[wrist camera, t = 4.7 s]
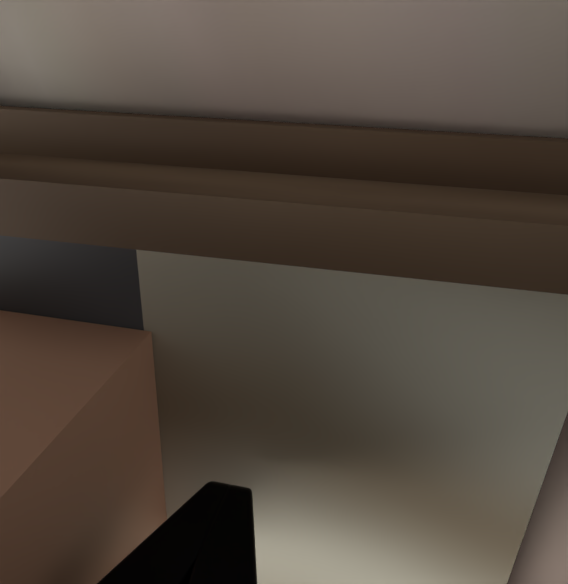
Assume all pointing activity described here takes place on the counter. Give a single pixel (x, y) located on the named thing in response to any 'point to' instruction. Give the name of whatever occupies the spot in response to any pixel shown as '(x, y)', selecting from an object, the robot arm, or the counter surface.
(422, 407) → the trap lane
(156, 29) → the counter surface
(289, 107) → the counter surface
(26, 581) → the terracotta block
